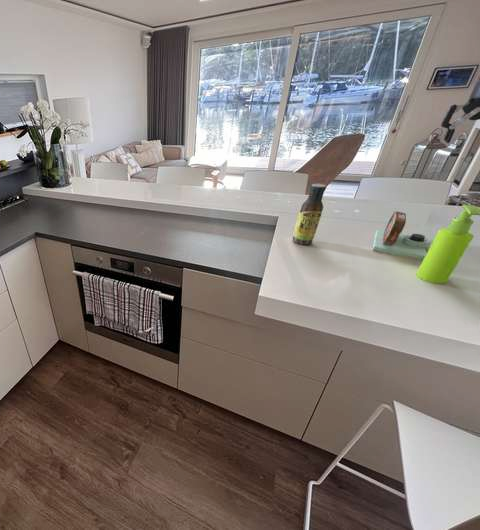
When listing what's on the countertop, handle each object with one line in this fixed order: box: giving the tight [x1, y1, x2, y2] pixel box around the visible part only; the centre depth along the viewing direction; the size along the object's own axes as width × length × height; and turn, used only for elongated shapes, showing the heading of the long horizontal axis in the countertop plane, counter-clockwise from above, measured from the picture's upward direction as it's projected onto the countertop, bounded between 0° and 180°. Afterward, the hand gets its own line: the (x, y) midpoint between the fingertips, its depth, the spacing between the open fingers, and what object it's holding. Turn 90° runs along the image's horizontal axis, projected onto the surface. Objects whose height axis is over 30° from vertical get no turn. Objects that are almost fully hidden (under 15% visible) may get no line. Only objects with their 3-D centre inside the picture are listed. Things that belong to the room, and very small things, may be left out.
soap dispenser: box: [415, 204, 480, 285], centre depth 72 cm, size 6×7×20 cm
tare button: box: [410, 233, 426, 242], centre depth 89 cm, size 3×3×2 cm
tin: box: [383, 210, 407, 245], centre depth 92 cm, size 15×3×8 cm, turn 140°
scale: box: [372, 228, 431, 261], centre depth 92 cm, size 12×16×3 cm
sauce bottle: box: [291, 183, 327, 245], centre depth 95 cm, size 6×6×20 cm
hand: (467, 142), depth 85 cm, fingers open, 8 cm apart
